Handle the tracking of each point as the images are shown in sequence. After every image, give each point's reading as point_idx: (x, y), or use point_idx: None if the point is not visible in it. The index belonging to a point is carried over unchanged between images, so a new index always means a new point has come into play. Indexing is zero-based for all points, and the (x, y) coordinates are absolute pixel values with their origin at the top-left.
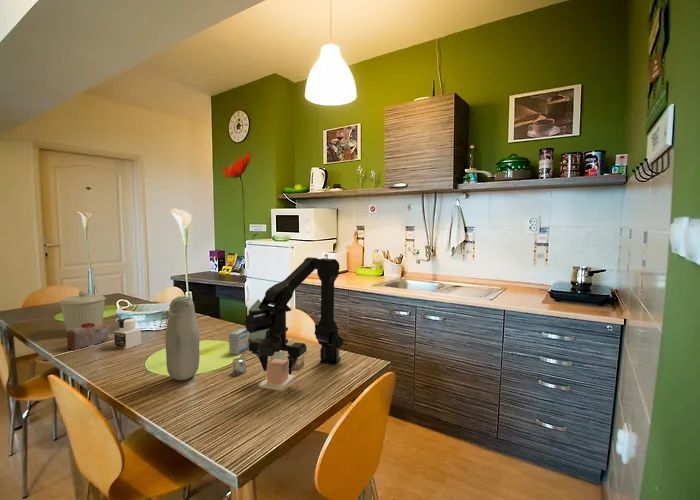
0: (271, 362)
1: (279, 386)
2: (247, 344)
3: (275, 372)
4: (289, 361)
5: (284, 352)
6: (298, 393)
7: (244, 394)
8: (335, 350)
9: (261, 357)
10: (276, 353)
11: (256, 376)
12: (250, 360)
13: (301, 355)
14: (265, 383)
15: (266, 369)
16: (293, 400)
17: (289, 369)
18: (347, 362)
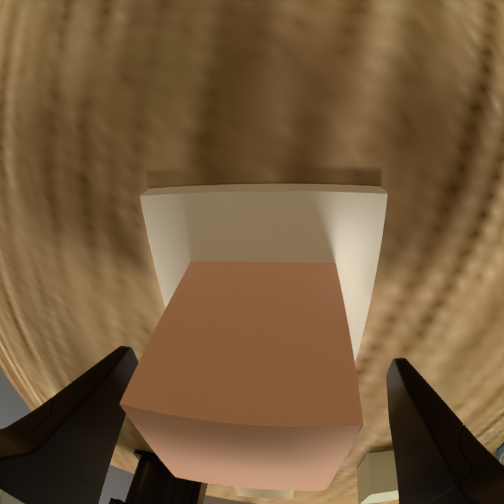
0: (317, 457)
1: (172, 219)
2: (501, 460)
3: (223, 337)
4: (37, 439)
5: (359, 490)
6: (40, 201)
7: (425, 33)
8: (131, 493)
9: (465, 482)
10: (389, 483)
11: (454, 331)
12: (492, 418)
13: (244, 493)
14: (336, 234)
15: (388, 380)
16: (16, 112)
17: (91, 378)
18: (118, 452)
